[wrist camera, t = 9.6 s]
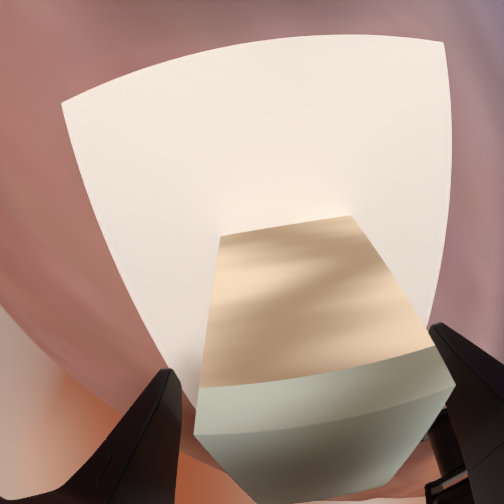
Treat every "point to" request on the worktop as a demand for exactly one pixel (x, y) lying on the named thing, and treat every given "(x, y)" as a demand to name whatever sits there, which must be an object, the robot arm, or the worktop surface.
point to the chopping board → (265, 165)
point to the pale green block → (313, 365)
